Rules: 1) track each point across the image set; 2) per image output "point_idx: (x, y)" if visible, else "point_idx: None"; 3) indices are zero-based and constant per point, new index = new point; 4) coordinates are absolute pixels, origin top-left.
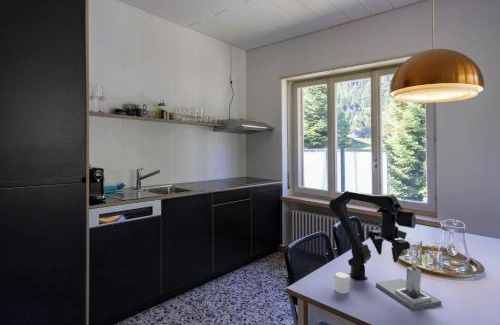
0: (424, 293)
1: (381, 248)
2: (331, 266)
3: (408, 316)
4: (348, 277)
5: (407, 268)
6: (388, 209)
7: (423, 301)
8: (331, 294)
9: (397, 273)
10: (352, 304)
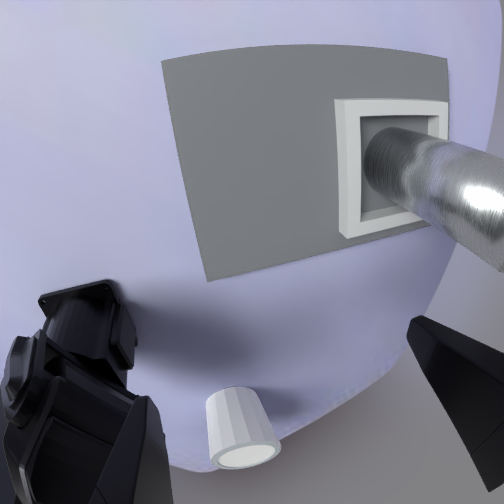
0: (385, 67)
1: (140, 470)
2: None
3: (438, 254)
4: (276, 445)
5: (498, 266)
6: None
7: None
8: None
9: (34, 25)
10: (325, 386)
